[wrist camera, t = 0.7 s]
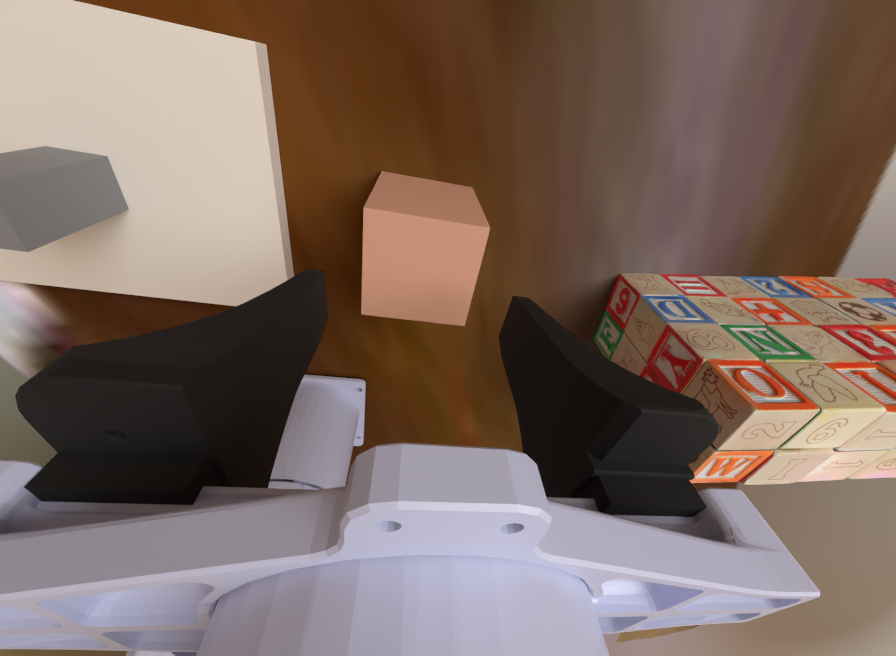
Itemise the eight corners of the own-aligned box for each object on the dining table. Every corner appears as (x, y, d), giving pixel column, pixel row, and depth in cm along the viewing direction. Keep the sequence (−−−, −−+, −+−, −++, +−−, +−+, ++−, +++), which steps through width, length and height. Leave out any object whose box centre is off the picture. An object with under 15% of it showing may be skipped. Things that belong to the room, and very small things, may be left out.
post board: (297, 302, 23) (257, 369, 17) (-6, 268, 20) (-163, 334, 15) (266, 44, 14) (173, 21, 9) (-258, -75, 12) (-821, -205, 6)
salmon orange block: (455, 267, 22) (464, 326, 16) (377, 256, 21) (361, 314, 16) (472, 187, 19) (490, 228, 13) (381, 171, 18) (363, 207, 13)
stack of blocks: (888, 274, 24) (1201, 403, 14) (826, 338, 28) (1040, 475, 18) (616, 272, 23) (759, 413, 13) (589, 340, 27) (685, 489, 17)
